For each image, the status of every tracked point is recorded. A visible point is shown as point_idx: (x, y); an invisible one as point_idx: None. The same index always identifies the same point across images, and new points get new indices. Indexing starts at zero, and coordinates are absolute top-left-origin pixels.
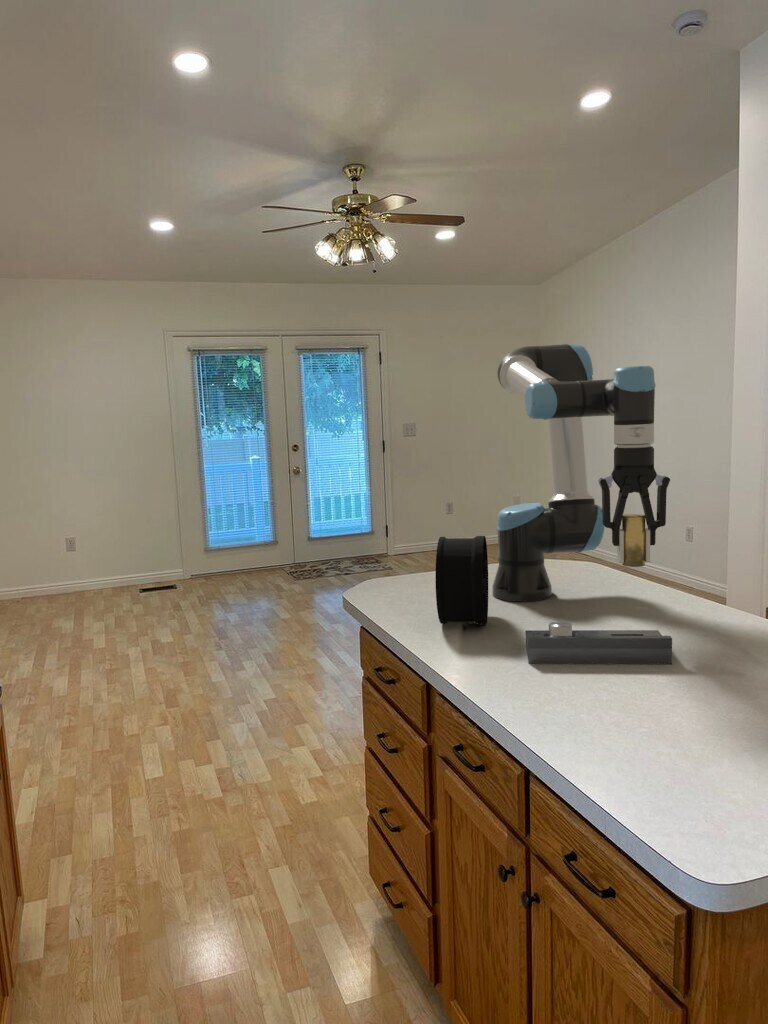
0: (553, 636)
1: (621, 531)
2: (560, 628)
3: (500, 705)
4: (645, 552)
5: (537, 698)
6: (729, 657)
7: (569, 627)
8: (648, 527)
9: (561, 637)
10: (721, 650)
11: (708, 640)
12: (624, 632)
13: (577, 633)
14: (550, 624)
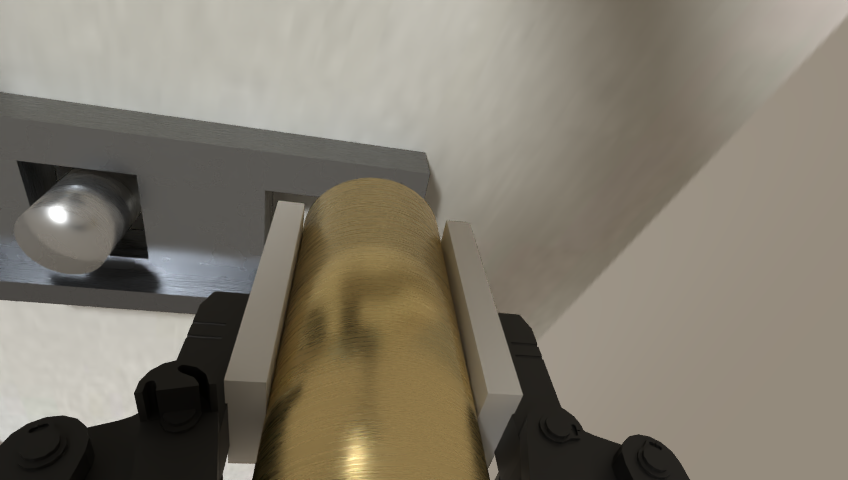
0: (54, 290)
1: (244, 461)
2: (67, 273)
3: (4, 419)
4: None
5: (76, 400)
6: (549, 256)
7: (99, 266)
8: (507, 448)
9: (82, 299)
10: (564, 213)
11: (586, 136)
12: (314, 179)
13: (147, 168)
14: (22, 237)
